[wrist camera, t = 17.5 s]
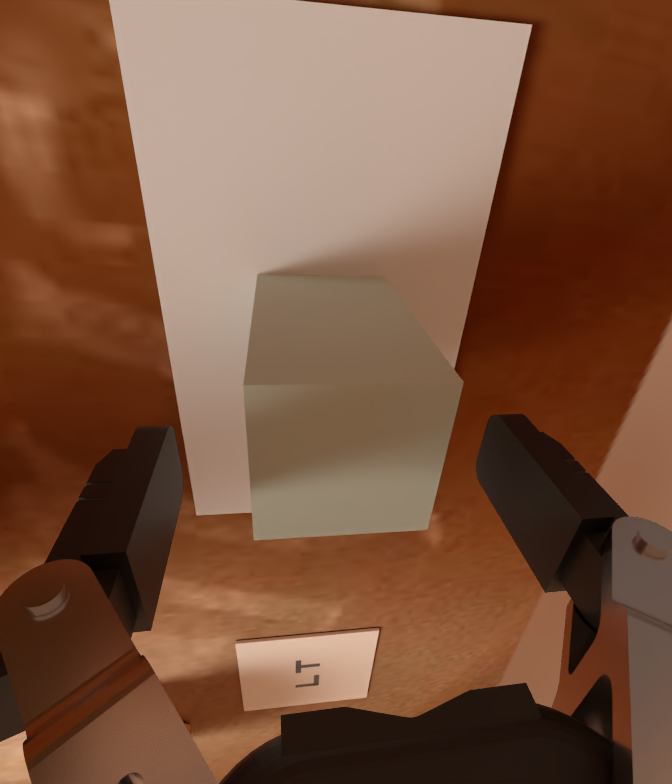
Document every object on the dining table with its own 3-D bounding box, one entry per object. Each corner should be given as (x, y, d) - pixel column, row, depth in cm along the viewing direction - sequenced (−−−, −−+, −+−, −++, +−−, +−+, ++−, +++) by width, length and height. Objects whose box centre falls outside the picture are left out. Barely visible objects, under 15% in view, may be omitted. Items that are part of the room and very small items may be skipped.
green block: (262, 386, 18) (253, 540, 11) (257, 274, 15) (243, 385, 9) (372, 384, 19) (427, 529, 12) (384, 276, 16) (463, 382, 9)
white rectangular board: (198, 506, 22) (196, 515, 21) (113, -14, 12) (105, -20, 11) (420, 495, 24) (424, 503, 23) (522, 28, 13) (532, 24, 13)
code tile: (244, 708, 34) (244, 711, 34) (235, 640, 29) (235, 643, 29) (366, 694, 35) (366, 697, 35) (378, 627, 30) (379, 630, 30)
